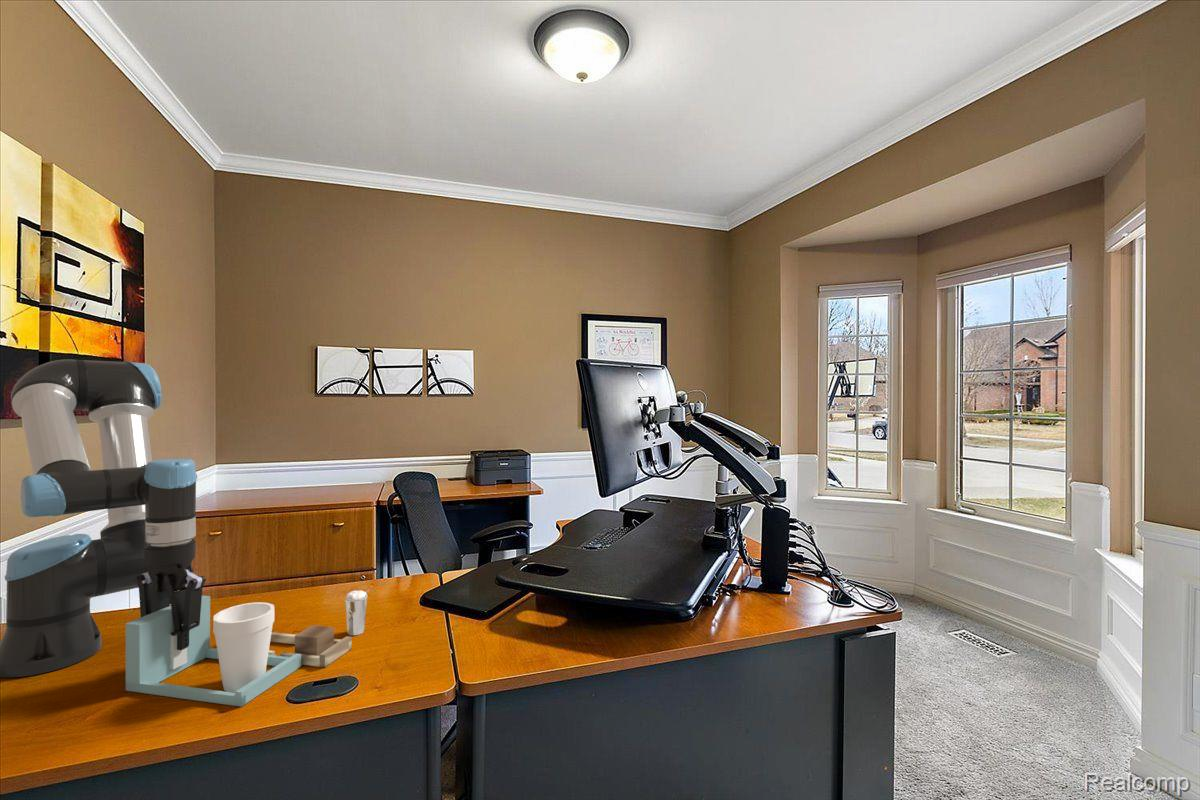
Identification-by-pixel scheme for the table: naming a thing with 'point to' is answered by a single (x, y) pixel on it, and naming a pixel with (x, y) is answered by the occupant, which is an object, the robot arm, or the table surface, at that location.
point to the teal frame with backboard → (153, 660)
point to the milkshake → (356, 611)
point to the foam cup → (243, 642)
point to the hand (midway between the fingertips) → (170, 664)
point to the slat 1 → (281, 639)
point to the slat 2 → (325, 653)
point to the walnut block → (314, 640)
